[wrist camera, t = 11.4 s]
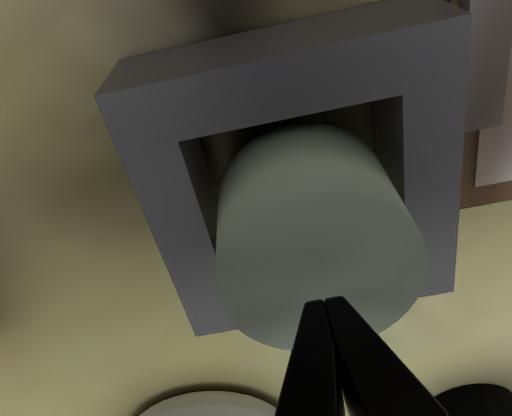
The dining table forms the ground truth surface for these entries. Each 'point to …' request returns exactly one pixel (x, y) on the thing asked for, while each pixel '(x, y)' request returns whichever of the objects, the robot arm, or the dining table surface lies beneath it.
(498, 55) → the clipboard
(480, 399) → the cup
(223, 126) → the button housing
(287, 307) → the button
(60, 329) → the dining table surface
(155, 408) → the wine bottle
